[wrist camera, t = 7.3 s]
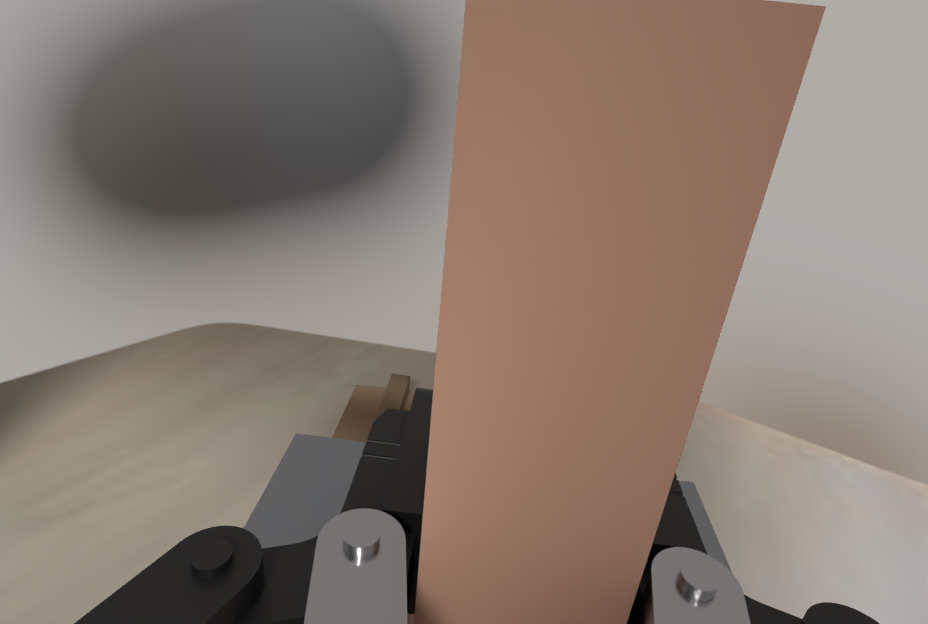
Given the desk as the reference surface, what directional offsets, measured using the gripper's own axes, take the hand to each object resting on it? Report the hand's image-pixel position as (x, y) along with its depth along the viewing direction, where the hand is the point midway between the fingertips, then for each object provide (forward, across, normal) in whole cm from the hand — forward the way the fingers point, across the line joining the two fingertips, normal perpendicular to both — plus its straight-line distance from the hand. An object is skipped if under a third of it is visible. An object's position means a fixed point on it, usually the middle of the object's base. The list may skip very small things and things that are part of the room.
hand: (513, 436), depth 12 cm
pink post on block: (-3, 0, +10) cm, 11 cm away
